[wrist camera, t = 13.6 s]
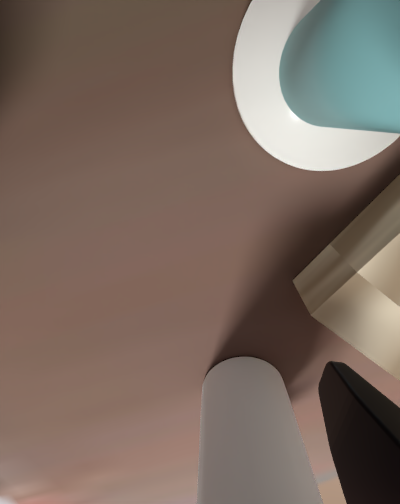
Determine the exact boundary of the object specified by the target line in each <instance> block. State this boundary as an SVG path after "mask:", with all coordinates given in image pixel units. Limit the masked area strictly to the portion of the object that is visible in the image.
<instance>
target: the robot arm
mask: <svg viewBox="0 0 400 504" xmlns="http://www.w3.org/2000/svg"><path fill="white" fill-rule="evenodd" d="M318 391H319V397H320V402H321V407H322V412H323V417H324V422H325V427H326V432H327V437H328V442H329V446H330V450H331V454H332V457H333V461H334V464H335V467H336V471H337V474H338V477H339V480H340V483H341V487H342V490H343V493H344V496H345V499H346V503H347V504H400V408H399V407H398V406H397V405H396V404H394V403H393V402H392V401H391V400H389V399H388V398H387V397H386V396H384V395H383V394H382V393H381V392H380V391H378V390H377V389H376V388H375V387H373V386H372V385H371V384H370V383H368V382H367V381H366V380H365V379H363V378H362V377H361V376H360V375H359V374H357V373H356V372H355V371H354V370H352V369H351V368H350V367H349V366H347V365H346V364H345V363H342V362H334V361H330V362H328V363H327V364H326V366H325V369H324V371H323V374H322V377H321V380H320V382H319V388H318Z"/></svg>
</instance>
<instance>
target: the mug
mask: <svg viewBox="0 0 400 504" xmlns="http://www.w3.org/2000/svg"><path fill="white" fill-rule="evenodd" d="M197 504H323V501H322V498H321V495H320V492H319V489H318V486H317V483H316V480H315V477H314V474H313V471H312V468H311V464H310V461H309V458H308V455H307V452H306V449H305V446H304V443H303V440H302V436H301V433H300V430H299V427H298V424H297V421H296V417H295V414H294V411H293V408H292V405H291V402H290V399H289V396H288V393H287V390H286V387H285V384H284V382H283V379H282V377H281V375H280V373H279V372H278V370H277V369H276V368H275V367H274V366H272V365H271V364H269V363H268V362H266V361H264V360H261V359H258V358H254V357H235V358H230V359H227V360H225V361H222V362H220V363H219V364H217V365H216V366H214V367H213V368H212V369H211V370H210V371H209V372H208V374H207V375H206V377H205V379H204V382H203V388H202V405H201V419H200V445H199V467H198V488H197Z"/></svg>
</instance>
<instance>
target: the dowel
mask: <svg viewBox="0 0 400 504" xmlns="http://www.w3.org/2000/svg"><path fill="white" fill-rule="evenodd" d="M279 81H280V87H281V92H282V95H283V97H284V100H285V102H286V103H287V105H288V107H289V108H290V110H291V111H292V112H293V113H294V114H295V115H296V116H297V117H298V118H300V119H301V120H303V121H305V122H306V123H309V124H311V125H314V126H319V127H329V128H341V129H352V130H364V131H375V132H386V133H398V134H400V0H320V1H319V2H318V3H317V4H316V5H315V6H314V7H313V8H312V10H311V11H310V12H309V13H308V14H307V15H306V16H305V17H304V18H303V19H302V20H301V21H300V22H299V23H298V24H297V25H296V27H295V28H294V29H293V31H292V32H291V34H290V36H289V37H288V39H287V41H286V43H285V46H284V49H283V51H282V55H281V59H280V66H279Z"/></svg>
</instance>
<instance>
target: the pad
mask: <svg viewBox="0 0 400 504" xmlns="http://www.w3.org/2000/svg"><path fill="white" fill-rule="evenodd" d="M319 1H320V0H252V2H251V3H250V5H249V8H248V10H247V12H246V14H245V16H244V19H243V21H242V24H241V27H240V30H239V33H238V36H237V39H236V44H235V49H234V53H233V63H232V84H233V91H234V98H235V101H236V105H237V109H238V111H239V114H240V116H241V119H242V121H243V123H244V125H245V127H246V128H247V130H248V132H249V133H250V134H251V136H252V137H253V138H254V140H255V141H256V142H257V143H258V144H259V145H260V146H261V147H262V148H263V149H264V150H265V151H267V152H268V153H269V154H271V155H272V156H273V157H275V158H277V159H279V160H281V161H282V162H284V163H286V164H289V165H292V166H294V167H297V168H301V169H306V170H314V171H329V170H337V169H342V168H346V167H350V166H353V165H356V164H358V163H361V162H363V161H365V160H367V159H369V158H371V157H373V156H374V155H376V154H378V153H379V152H381V151H382V150H384V149H385V148H386V147H388V146H389V145H390V144H392V143H393V142H394V141H395V140H396V139H397V138H398V137H399V136H400V134H398V133H386V132H375V131H364V130H352V129H341V128H329V127H319V126H314V125H311V124H309V123H306V122H305V121H303V120H301V119H300V118H298V117H297V116H296V115H295V114H294V113H293V112H292V111H291V110H290V108H289V107H288V105H287V103H286V102H285V100H284V97H283V95H282V92H281V87H280V81H279V66H280V59H281V55H282V51H283V49H284V46H285V43H286V41H287V39H288V37H289V36H290V34H291V32H292V31H293V29H294V28H295V27H296V25H297V24H298V23H299V22H300V21H301V20H302V19H303V18H304V17H305V16H306V15H307V14H308V13H309V12H310V11H311V10H312V8H313V7H314V6H315V5H316V4H317V3H318V2H319Z"/></svg>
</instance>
